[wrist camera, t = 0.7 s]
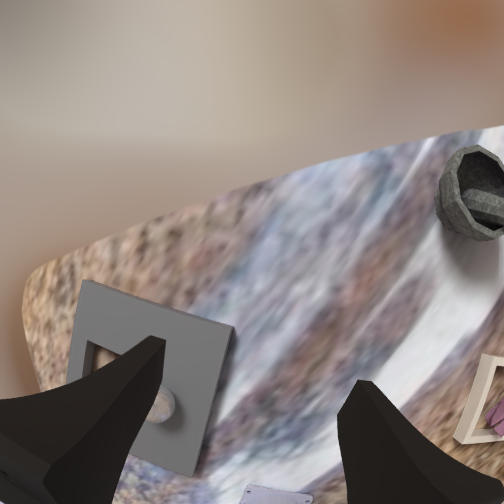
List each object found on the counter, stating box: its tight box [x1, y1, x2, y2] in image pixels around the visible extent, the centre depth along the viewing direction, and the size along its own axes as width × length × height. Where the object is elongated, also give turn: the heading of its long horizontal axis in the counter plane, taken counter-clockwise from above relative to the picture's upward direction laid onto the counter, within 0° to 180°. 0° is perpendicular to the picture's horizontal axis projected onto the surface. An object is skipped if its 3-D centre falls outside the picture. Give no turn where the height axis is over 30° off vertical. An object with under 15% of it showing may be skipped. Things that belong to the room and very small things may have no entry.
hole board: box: [66, 279, 234, 477], centre depth 28 cm, size 18×17×2 cm
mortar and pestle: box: [434, 145, 504, 241], centre depth 23 cm, size 11×9×12 cm
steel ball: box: [145, 385, 175, 423], centre depth 25 cm, size 4×4×4 cm
